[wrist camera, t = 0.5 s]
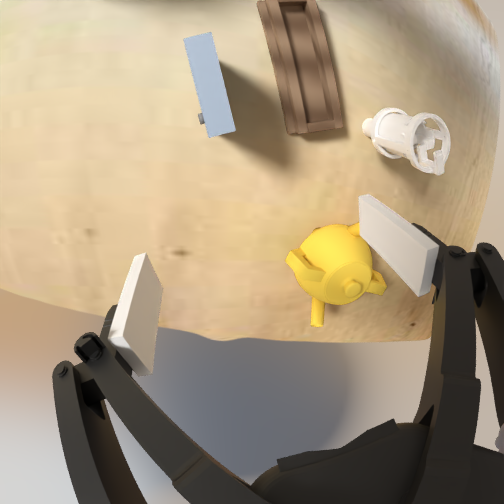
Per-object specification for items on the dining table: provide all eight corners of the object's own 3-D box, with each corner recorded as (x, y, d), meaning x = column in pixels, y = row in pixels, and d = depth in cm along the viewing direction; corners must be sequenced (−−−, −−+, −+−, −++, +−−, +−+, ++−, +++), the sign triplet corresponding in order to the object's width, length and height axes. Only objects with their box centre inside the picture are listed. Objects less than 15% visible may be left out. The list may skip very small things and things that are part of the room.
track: (256, 3, 25) (260, -4, 22) (311, 1, 25) (319, -6, 23) (287, 133, 35) (293, 135, 33) (339, 124, 35) (348, 126, 33)
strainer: (358, 155, 38) (421, 184, 25) (345, 112, 34) (411, 122, 22) (392, 142, 38) (459, 166, 25) (381, 101, 34) (452, 110, 21)
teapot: (301, 179, 39) (333, 206, 29) (388, 214, 44) (427, 244, 34) (255, 289, 47) (268, 337, 38) (339, 304, 52) (362, 344, 43)
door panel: (186, 61, 28) (177, 40, 18) (209, 55, 28) (211, 32, 18) (204, 130, 33) (202, 139, 23) (226, 124, 33) (235, 130, 23)
